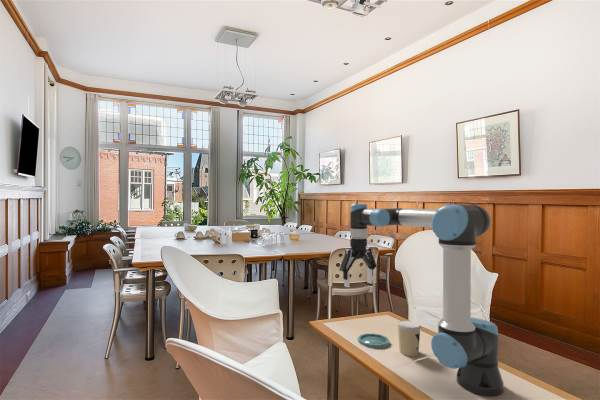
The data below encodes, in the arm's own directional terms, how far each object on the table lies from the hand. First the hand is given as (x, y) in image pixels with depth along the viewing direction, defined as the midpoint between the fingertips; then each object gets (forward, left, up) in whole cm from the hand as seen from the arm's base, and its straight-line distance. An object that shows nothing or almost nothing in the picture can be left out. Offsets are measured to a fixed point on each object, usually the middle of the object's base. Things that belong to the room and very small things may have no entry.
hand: (358, 284), depth 164 cm
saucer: (-3, -6, -26) cm, 27 cm away
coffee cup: (-19, -11, -26) cm, 35 cm away
